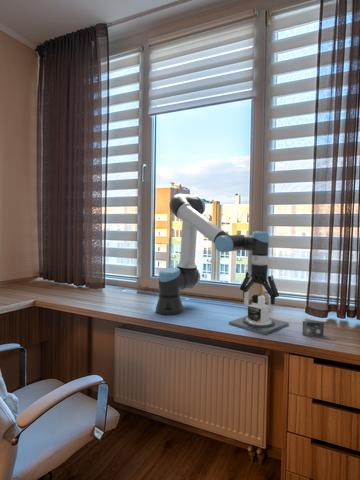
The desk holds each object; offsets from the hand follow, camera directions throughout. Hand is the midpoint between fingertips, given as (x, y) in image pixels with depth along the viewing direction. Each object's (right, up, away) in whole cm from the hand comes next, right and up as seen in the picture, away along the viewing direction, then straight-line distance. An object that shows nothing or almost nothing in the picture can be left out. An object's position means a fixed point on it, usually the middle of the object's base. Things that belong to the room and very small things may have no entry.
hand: (258, 308), depth 149 cm
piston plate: (0, -8, 0) cm, 8 cm away
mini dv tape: (+20, -9, -14) cm, 26 cm away
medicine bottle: (0, -6, 0) cm, 6 cm away
